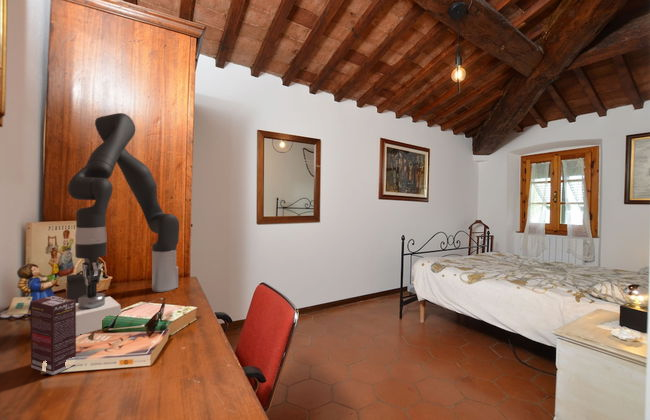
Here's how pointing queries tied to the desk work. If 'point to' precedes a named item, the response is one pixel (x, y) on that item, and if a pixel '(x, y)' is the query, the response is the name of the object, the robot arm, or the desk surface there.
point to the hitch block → (95, 316)
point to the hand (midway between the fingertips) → (91, 296)
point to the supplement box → (52, 332)
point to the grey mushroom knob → (91, 301)
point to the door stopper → (76, 286)
